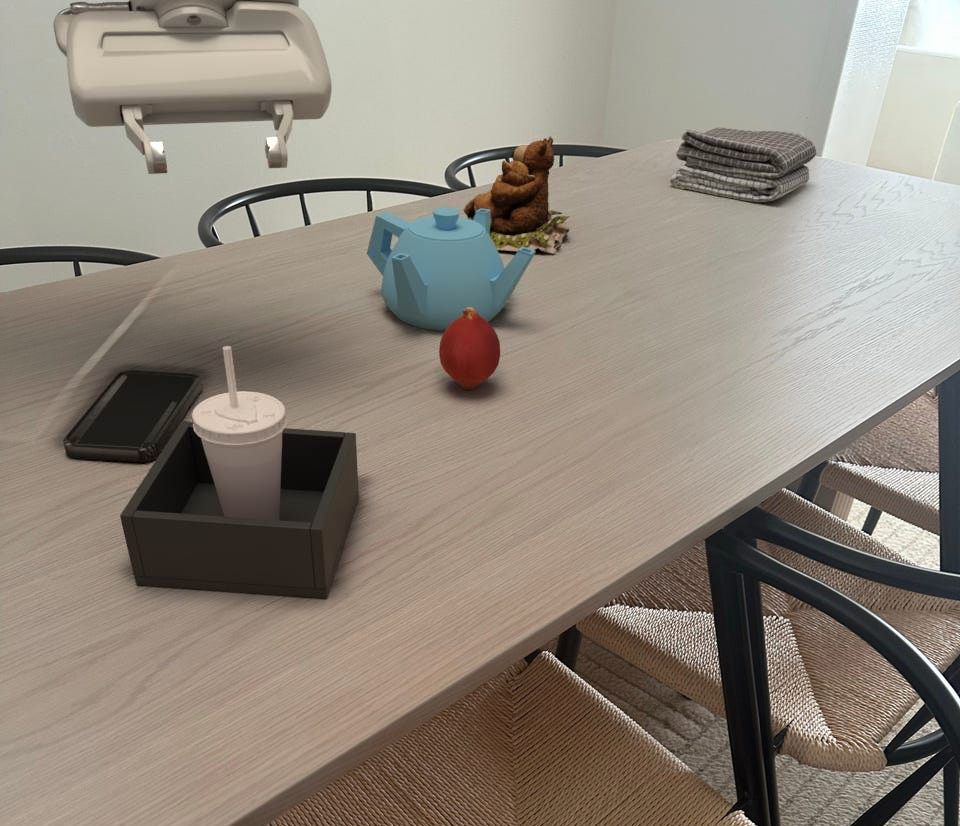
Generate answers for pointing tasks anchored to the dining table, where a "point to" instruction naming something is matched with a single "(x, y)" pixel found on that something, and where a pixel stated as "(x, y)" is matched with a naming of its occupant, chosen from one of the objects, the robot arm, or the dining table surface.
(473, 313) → the onion
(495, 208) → the bear figurine
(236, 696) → the dining table surface
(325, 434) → the black tray
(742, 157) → the towel
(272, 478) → the smoothie
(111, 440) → the phone
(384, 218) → the teapot
